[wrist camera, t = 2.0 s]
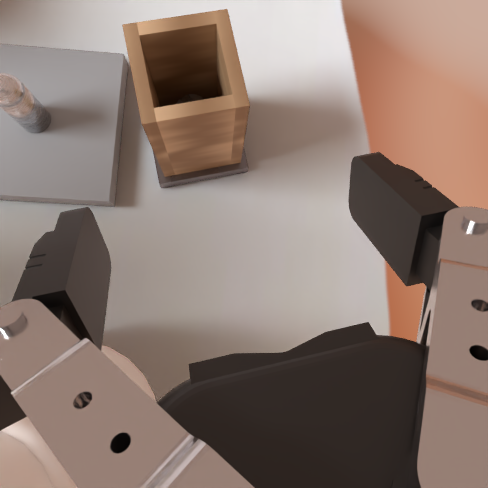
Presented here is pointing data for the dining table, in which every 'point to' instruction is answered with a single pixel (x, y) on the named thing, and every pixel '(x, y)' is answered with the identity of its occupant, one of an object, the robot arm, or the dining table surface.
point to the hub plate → (60, 124)
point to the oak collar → (189, 90)
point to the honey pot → (37, 451)
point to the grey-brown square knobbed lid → (199, 174)
